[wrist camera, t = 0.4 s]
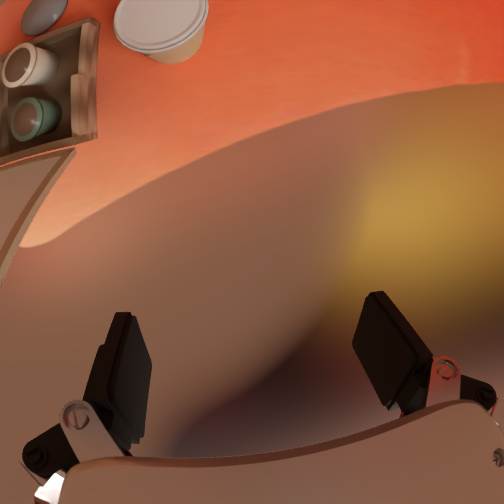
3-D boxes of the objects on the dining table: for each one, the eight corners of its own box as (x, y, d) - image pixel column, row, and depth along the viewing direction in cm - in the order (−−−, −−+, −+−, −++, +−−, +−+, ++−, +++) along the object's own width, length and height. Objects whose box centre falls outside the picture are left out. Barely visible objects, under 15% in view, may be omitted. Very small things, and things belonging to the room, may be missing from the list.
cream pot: (30, 56, 22) (3, 52, 16) (61, 44, 23) (36, 35, 16) (28, 92, 25) (0, 93, 18) (59, 81, 25) (32, 78, 19)
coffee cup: (133, 26, 25) (103, -3, 14) (199, 3, 25) (195, -37, 14) (149, 80, 29) (122, 66, 19) (217, 57, 29) (219, 31, 19)
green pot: (33, 102, 26) (9, 104, 20) (63, 92, 27) (40, 91, 21) (35, 139, 28) (11, 145, 23) (64, 131, 29) (41, 136, 24)
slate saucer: (28, 1, 16) (26, 0, 15) (72, -19, 17) (70, -20, 16) (20, 43, 20) (17, 43, 20) (63, 24, 21) (61, 23, 21)
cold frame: (9, 59, 21) (-17, 57, 15) (100, 23, 23) (80, 9, 17) (9, 160, 29) (-16, 170, 23) (97, 138, 32) (75, 144, 25)
